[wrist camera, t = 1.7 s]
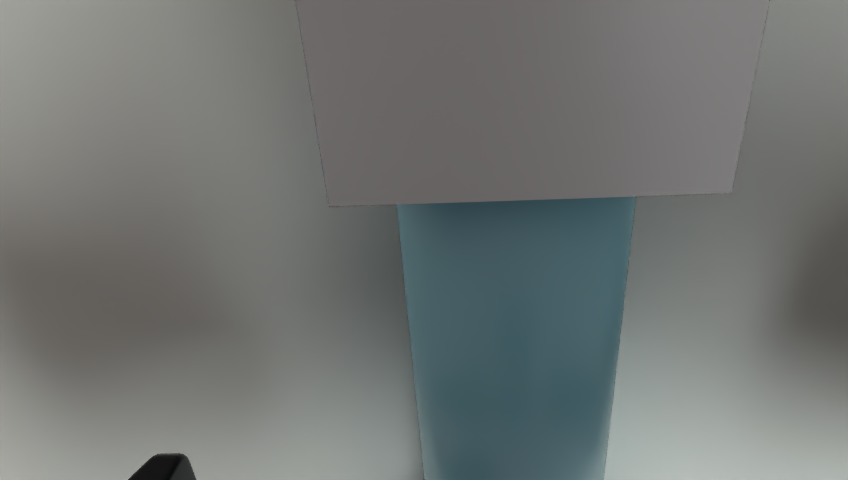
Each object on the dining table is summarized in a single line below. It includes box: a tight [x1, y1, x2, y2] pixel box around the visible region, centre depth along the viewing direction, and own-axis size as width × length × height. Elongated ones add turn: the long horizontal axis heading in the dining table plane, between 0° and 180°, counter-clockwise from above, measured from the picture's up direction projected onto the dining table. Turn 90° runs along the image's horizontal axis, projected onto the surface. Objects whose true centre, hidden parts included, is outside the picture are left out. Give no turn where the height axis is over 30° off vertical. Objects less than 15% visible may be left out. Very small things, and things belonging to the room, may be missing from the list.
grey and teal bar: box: [295, 0, 770, 480], centre depth 10 cm, size 15×4×4 cm, turn 4°
